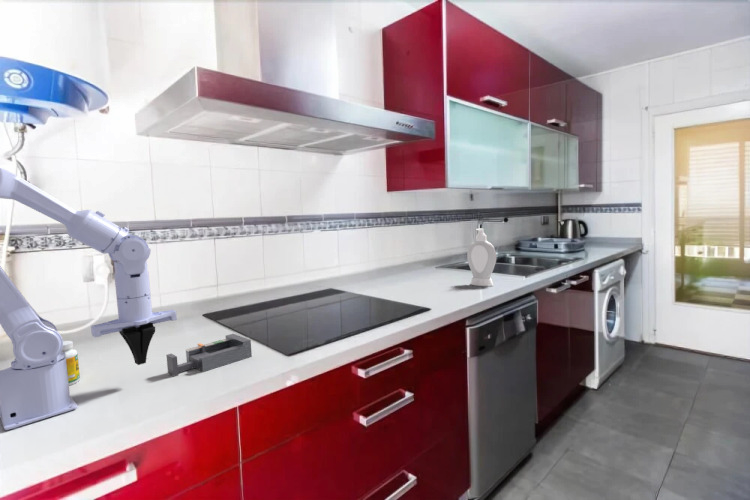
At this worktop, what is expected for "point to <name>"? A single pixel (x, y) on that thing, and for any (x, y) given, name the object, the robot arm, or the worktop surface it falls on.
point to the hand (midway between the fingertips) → (140, 362)
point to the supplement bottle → (71, 362)
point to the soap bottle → (481, 260)
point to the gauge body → (222, 352)
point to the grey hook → (194, 363)
